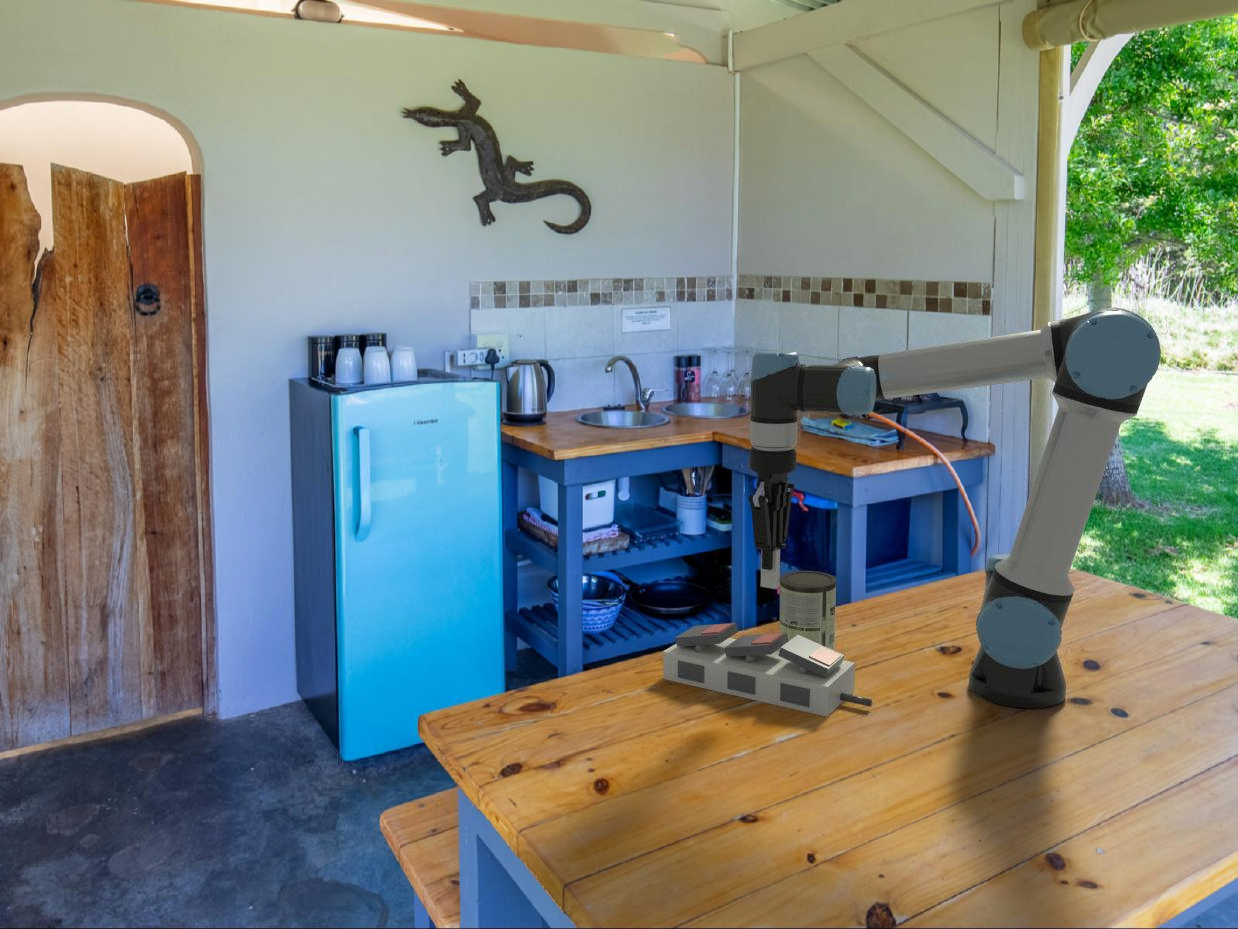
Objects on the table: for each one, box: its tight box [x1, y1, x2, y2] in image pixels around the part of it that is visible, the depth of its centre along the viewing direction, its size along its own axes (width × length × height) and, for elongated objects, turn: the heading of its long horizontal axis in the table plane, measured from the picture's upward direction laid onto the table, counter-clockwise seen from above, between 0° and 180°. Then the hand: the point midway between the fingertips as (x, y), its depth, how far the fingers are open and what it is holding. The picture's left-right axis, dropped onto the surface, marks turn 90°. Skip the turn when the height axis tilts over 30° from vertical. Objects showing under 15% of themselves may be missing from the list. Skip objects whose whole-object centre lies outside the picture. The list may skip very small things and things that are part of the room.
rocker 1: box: [674, 622, 739, 647], centre depth 183 cm, size 8×7×2 cm
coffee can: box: [779, 570, 838, 651], centre depth 193 cm, size 10×10×14 cm
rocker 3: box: [778, 635, 845, 678], centre depth 173 cm, size 8×7×2 cm
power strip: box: [662, 637, 873, 717], centre depth 178 cm, size 35×12×6 cm, turn 57°
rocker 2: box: [724, 632, 789, 657], centre depth 178 cm, size 8×7×2 cm
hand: (770, 586), depth 175 cm, fingers closed
